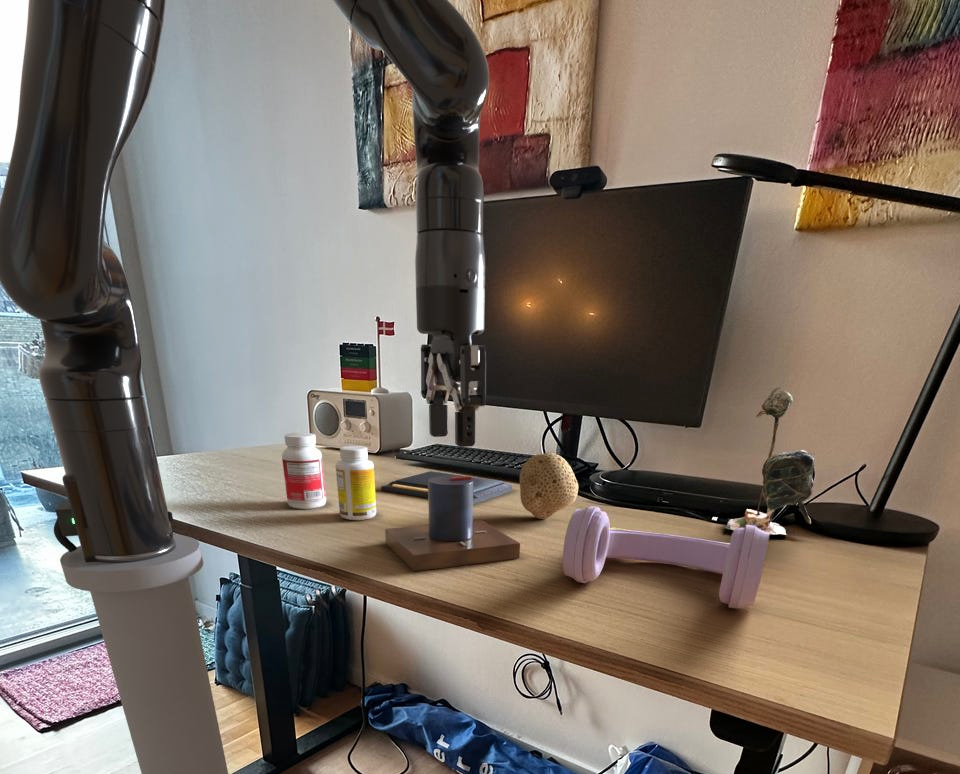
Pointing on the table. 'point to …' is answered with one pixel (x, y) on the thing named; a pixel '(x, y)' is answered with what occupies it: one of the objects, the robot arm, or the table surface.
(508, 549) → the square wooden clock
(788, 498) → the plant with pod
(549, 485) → the natural sponge
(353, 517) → the supplement bottle
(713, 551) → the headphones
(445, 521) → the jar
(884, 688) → the table surface
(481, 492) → the dark blue book
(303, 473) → the pill bottle
